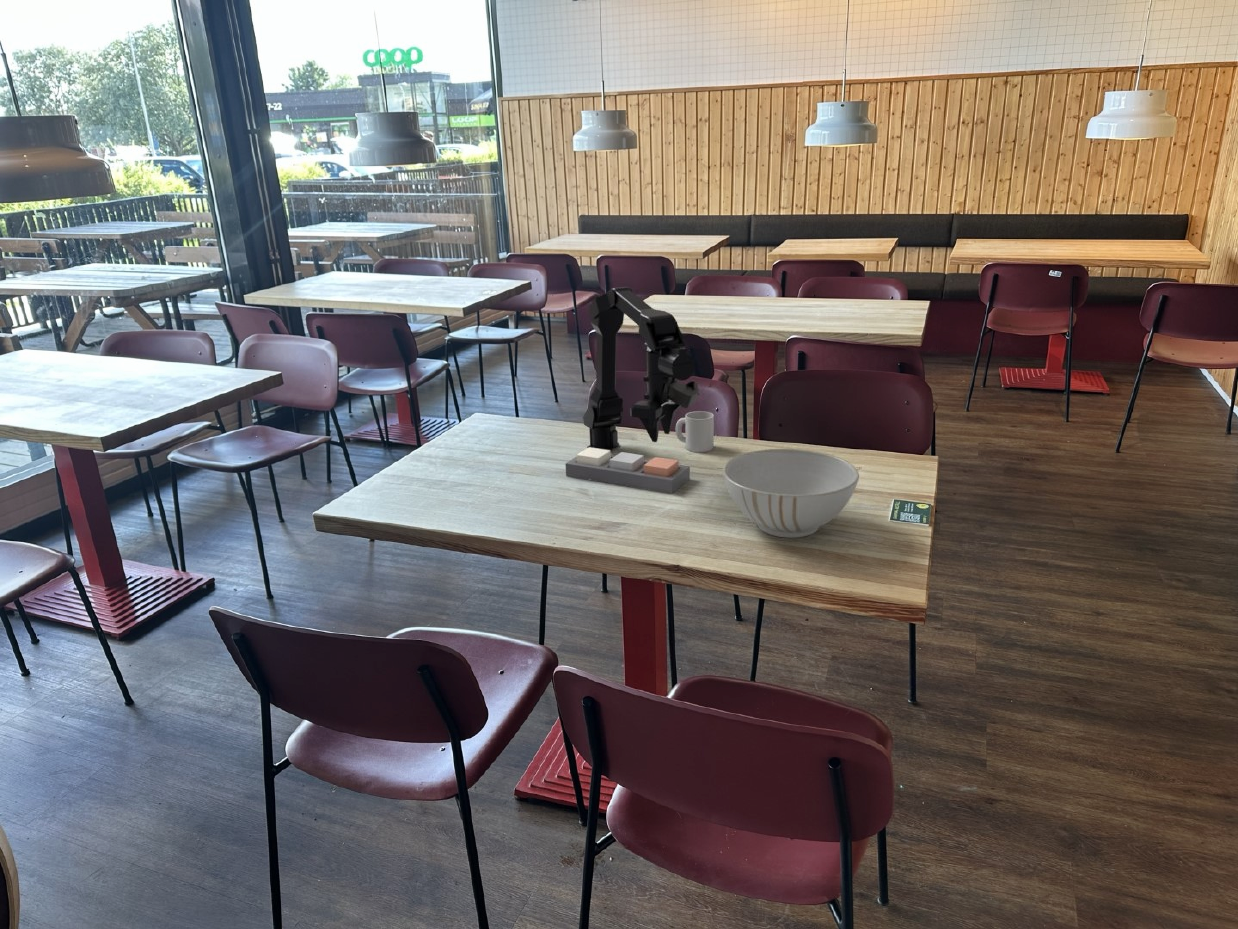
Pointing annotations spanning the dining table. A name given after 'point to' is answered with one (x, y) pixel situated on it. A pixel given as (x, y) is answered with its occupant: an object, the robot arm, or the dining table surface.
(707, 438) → the cup
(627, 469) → the grey key
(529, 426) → the dining table surface
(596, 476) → the frame
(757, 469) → the decorative bowl
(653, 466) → the terracotta key
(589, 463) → the cream key
